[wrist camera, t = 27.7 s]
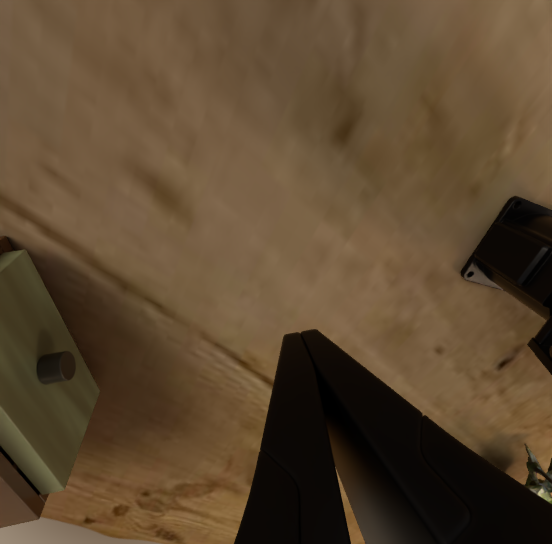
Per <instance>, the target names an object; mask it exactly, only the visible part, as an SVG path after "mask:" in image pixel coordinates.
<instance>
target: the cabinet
mask: <svg viewBox="0 0 552 544" xmlns="http://www.w3.org/2000/svg"><path fill="white" fill-rule="evenodd" d="M12 251H14V250H13V248H12V246H11V245H10V243H9V241H8V239H7V237H6V236H2V237H0V255H1V254H2V253H5V252H12ZM48 495H49V494H44V495H42V494H41V493H40V492H39V491H38V489H37V488H36V487H35V486H34V485H33V484H32V482H31V481H30V480H29V479H28V478H27V477H26V475H25V474H24V473H23V472H22V471H20V473H18V471H17V470H16V469H15V468H14V467H13V466H12V464H11V463H10V462H9V461H8V460H7V459H6V457H5V456H4V455H3V454H2V453H1V452H0V528H2V527H7V526H11V525H16V524H20V523H25V522H29V521H33V520H38V519H39V518H40V515H41V513H42V510H43V508H44V505H45V502H46V500H47V497H48Z"/></svg>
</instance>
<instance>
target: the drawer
mask: <svg viewBox="0 0 552 544" xmlns="http://www.w3.org/2000/svg"><path fill="white" fill-rule="evenodd" d="M99 393H100V390H99V388H98V386H97V384H96V382H95V381H94V379H93V377H92V375H91V373H90V371H89V369H88V367H87V365H86V363H85V361H84V360H83V358H82V356H81V354H80V352H79V350H78V348H77V346H76V344H75V342H74V340H73V339H72V337H71V335H70V333H69V331H68V329H67V327H66V325H65V323H64V321H63V319H62V318H61V316H60V314H59V312H58V310H57V308H56V306H55V304H54V302H53V300H52V298H51V296H50V295H49V293H48V291H47V289H46V287H45V285H44V283H43V281H42V279H41V277H40V275H39V274H38V272H37V270H36V268H35V266H34V264H33V262H32V260H31V258H30V256H29V254H28V253H27V251H26V250H19V251H12V252H5V253H2V254H1V255H0V452H1V453H2V454H3V455H4V456H5V457H6V459H7V460H8V461H9V462H10V463H11V464H12V466H13V467H14V468H15V469H16V470H17V471H18V473H20V471H22V472H23V473H24V474H25V475H26V477H27V478H28V479H29V480H30V481H31V482H32V484H33V485H34V486H35V487H36V488H37V489H38V491H39V492H40V493H41V494H42V495H44V494H49V493H53V492H58V491H63V490H65V487H66V485H67V482H68V479H69V476H70V474H71V471H72V468H73V465H74V462H75V460H76V457H77V454H78V451H79V448H80V446H81V443H82V440H83V437H84V435H85V432H86V429H87V426H88V423H89V421H90V418H91V415H92V412H93V410H94V407H95V404H96V401H97V398H98V396H99Z"/></svg>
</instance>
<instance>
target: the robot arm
mask: <svg viewBox="0 0 552 544" xmlns="http://www.w3.org/2000/svg"><path fill="white" fill-rule="evenodd" d="M515 203H516V205H515ZM514 205H515V206H514ZM461 276H462V277H463V278H464V279H466V280H468V281H472V282H475V283H479V284H483V285H486V286H490V287H493V288H497V289H501V290H504V291H506V292H508V293H509V294H511V295H512V296H513V297H515V298H516V299H518V300H519V301H520V302H522V303H523V304H525V305H526V306H528V307H529V308H530V309H532V310H533V311H535V312H536V313H537V314H539V315H540V316H542V317H543V318H544V319H546V320H547V322H546V323H545V324H544V326H543V327H542V328H541V330H540V331H539V332H538V334H537V335H536V336H535V338H532V339H531V340H530V341H529V343H528V344H527V345H528V346H529V347H530V349H531V350H532V351H533V352H534V353H535V355H536V356H537V358H538V359H539V360H540V361H541V362H542V364H543V365H544V366H545V367H546V368H547V370H548V371H549V372H550V373H551V375H552V210H550V209H548V208H545V207H543V206H540V205H538V204H535V203H533V202H530V201H528V200H525V199H523V198H520V197H518V196H514V197H512V198H510V199H509V200H508V201H507V203H506V204H505V206H504V207H503V209H502V210H501V212H500V213H499V215H498V216H497V218H496V219H495V221H494V222H493V224H492V225H491V227H490V228H489V230H488V231H487V233H486V234H485V236H484V237H483V239H482V240H481V242H480V243H479V245H478V246H477V248H476V249H475V251H474V252H473V254H472V255H471V257H470V258H469V260H468V261H467V263H466V264H465V266H464V267H463V269H462V271H461ZM335 466H336V468H335ZM336 469H337V472H338V474H339V477H340V479H341V482H342V484H343V487H344V490H345V492H346V495H347V497H348V500H349V502H350V505H351V508H352V510H353V513H354V515H355V518H356V520H357V523H358V525H359V528H360V531H361V533H362V536H363V538H364V541H365V543H366V544H552V504H551V503H549V502H548V501H546V500H545V499H543V498H542V497H540V496H539V495H537V494H536V493H534V492H533V491H531V490H530V489H528V488H527V487H525V486H524V485H522V484H521V483H519V482H518V481H516V480H515V479H513V478H512V477H510V476H509V475H507V474H506V473H504V472H503V471H501V470H500V469H498V468H497V467H495V466H494V465H492V464H491V463H489V462H488V461H486V460H485V459H483V458H482V457H481V456H479V455H478V454H476V453H475V452H473V451H472V450H470V449H469V448H468V447H466V446H465V445H463V444H462V443H461V442H459V441H458V440H457V439H455V438H454V437H453V436H451V435H450V434H449V433H447V432H446V431H445V430H443V429H442V428H441V427H439V426H438V425H437V424H436V423H434V422H433V421H432V420H431V419H429V418H428V417H427V416H425V415H424V416H423V417H422V412H420V411H419V410H418V409H417V408H415V407H414V406H413V405H411V404H410V403H409V402H408V401H406V400H405V399H404V398H403V397H401V396H400V395H399V394H398V393H396V392H395V391H394V390H393V389H391V388H390V387H389V386H387V385H386V384H385V383H384V382H382V381H381V380H380V379H379V378H377V377H376V376H375V375H374V374H372V373H371V372H370V371H368V370H367V369H366V368H365V367H363V366H362V365H361V364H360V363H358V362H357V361H356V360H355V359H353V358H352V357H351V356H350V355H348V354H347V353H346V352H344V351H343V350H342V349H341V348H339V347H338V346H337V345H336V344H334V343H333V342H332V341H331V340H329V339H328V338H327V337H326V336H324V335H323V334H322V333H320V332H319V331H318V330H316V329H312V330H307V331H302V332H301V334H300V333H298V332H296V333H290V334H285V335H284V337H283V341H282V346H281V351H280V356H279V361H278V365H277V370H276V375H275V380H274V385H273V389H272V394H271V399H270V404H269V409H268V413H267V418H266V423H265V428H264V433H263V437H262V442H261V447H260V452H259V455H258V460H257V465H256V470H255V474H254V478H253V482H252V486H251V490H250V494H249V498H248V501H247V504H246V508H245V511H244V514H243V517H242V521H241V524H240V527H239V530H238V533H237V536H236V539H235V542H234V544H351V541H350V536H349V532H348V527H347V522H346V517H345V512H344V507H343V502H342V497H341V493H340V488H339V483H338V478H337V473H336Z"/></svg>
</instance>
